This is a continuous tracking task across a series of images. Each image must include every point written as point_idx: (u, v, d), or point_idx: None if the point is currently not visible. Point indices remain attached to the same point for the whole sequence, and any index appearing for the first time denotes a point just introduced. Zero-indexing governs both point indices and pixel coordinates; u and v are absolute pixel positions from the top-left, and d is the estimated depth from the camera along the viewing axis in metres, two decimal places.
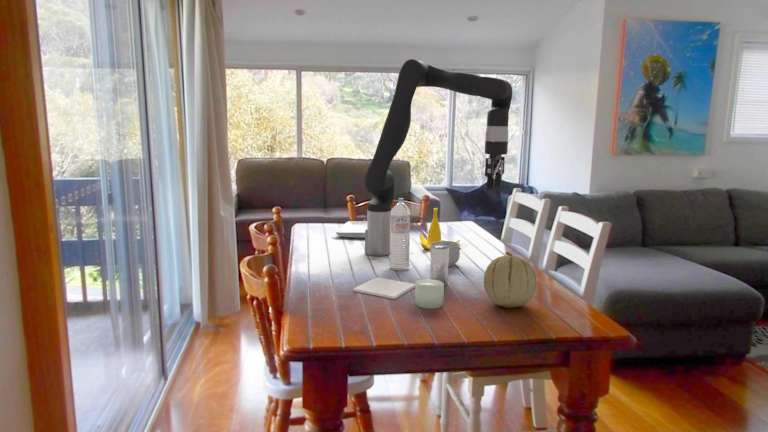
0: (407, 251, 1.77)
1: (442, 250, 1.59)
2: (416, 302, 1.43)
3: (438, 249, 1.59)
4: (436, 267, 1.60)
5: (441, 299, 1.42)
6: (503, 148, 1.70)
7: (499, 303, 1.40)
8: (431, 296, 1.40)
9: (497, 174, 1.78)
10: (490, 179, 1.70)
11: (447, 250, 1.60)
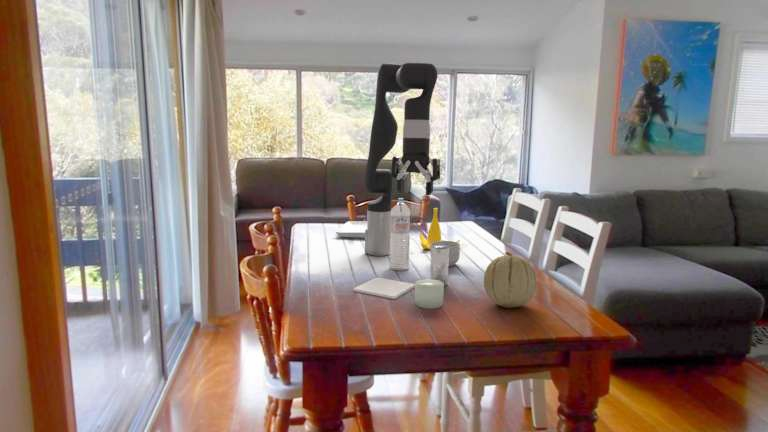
0: (407, 251, 1.77)
1: (442, 250, 1.59)
2: (416, 302, 1.43)
3: (438, 249, 1.59)
4: (436, 267, 1.60)
5: (441, 299, 1.42)
6: None
7: (499, 303, 1.40)
8: (431, 296, 1.40)
9: (401, 178, 1.47)
10: (432, 183, 1.43)
11: (447, 250, 1.60)
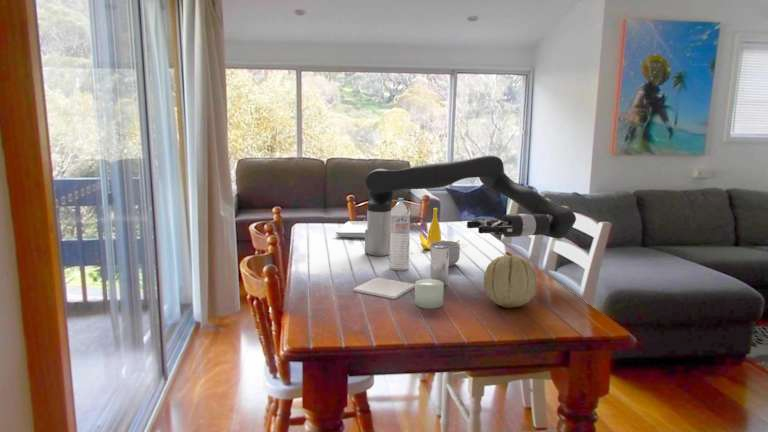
0: (407, 251, 1.77)
1: (442, 250, 1.59)
2: (416, 302, 1.43)
3: (438, 249, 1.59)
4: (436, 267, 1.60)
5: (441, 299, 1.42)
6: (513, 236, 1.66)
7: (499, 303, 1.40)
8: (431, 296, 1.40)
9: (479, 223, 1.69)
10: (489, 230, 1.59)
11: (447, 250, 1.60)
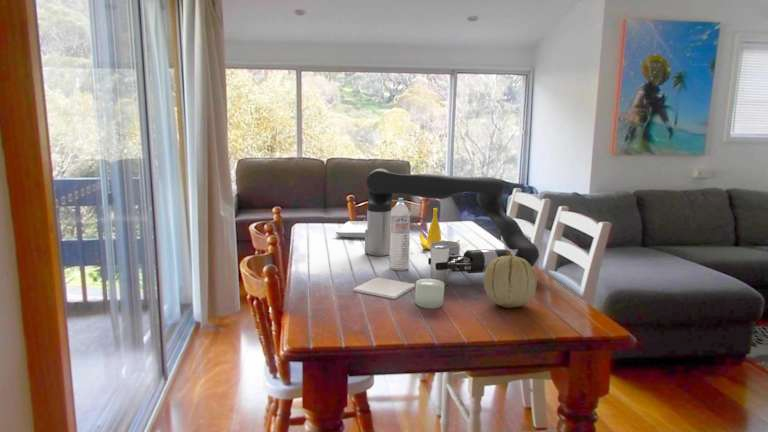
0: (407, 251, 1.77)
1: (442, 250, 1.59)
2: (417, 302, 1.43)
3: (438, 249, 1.59)
4: None
5: (442, 298, 1.43)
6: (475, 272, 1.64)
7: (499, 303, 1.40)
8: (434, 296, 1.40)
9: None
10: (446, 267, 1.59)
11: (447, 250, 1.60)
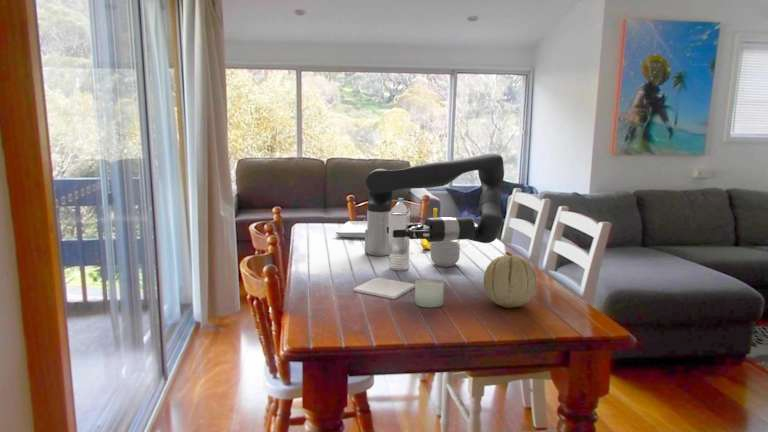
0: (407, 251, 1.77)
1: (400, 216, 1.52)
2: (419, 302, 1.42)
3: (395, 215, 1.52)
4: None
5: (442, 297, 1.44)
6: (436, 240, 1.57)
7: (499, 303, 1.40)
8: (435, 295, 1.41)
9: None
10: (404, 234, 1.52)
11: (405, 217, 1.53)
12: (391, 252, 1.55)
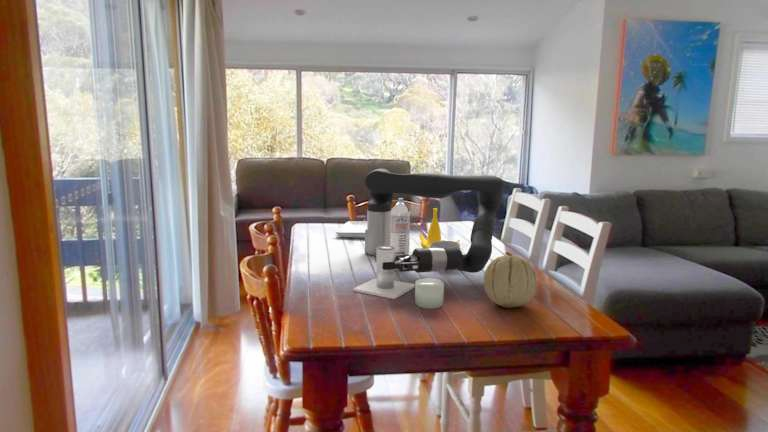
0: (407, 251, 1.77)
1: (387, 251, 1.53)
2: (421, 304, 1.42)
3: (383, 250, 1.53)
4: (381, 269, 1.54)
5: None
6: (423, 271, 1.58)
7: (499, 303, 1.40)
8: (438, 296, 1.41)
9: None
10: (394, 267, 1.52)
11: (392, 251, 1.54)
12: (379, 286, 1.55)
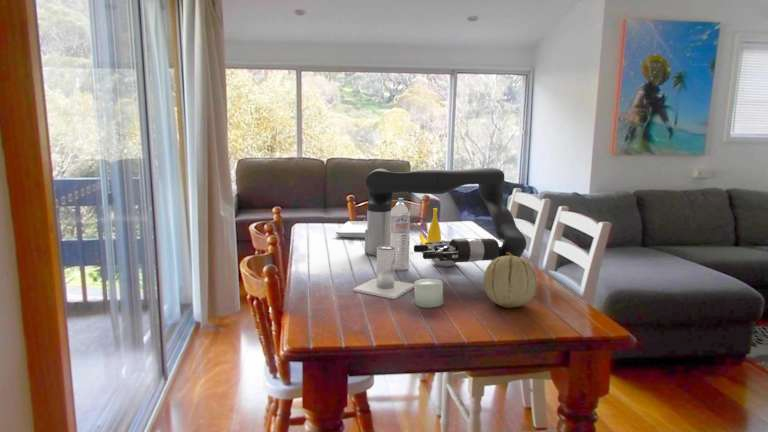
0: (407, 251, 1.77)
1: (387, 251, 1.53)
2: (424, 304, 1.41)
3: (383, 250, 1.53)
4: (381, 269, 1.54)
5: None
6: (461, 261, 1.61)
7: (499, 303, 1.40)
8: (440, 293, 1.42)
9: (426, 247, 1.64)
10: (434, 256, 1.54)
11: (393, 251, 1.54)
12: (379, 286, 1.55)
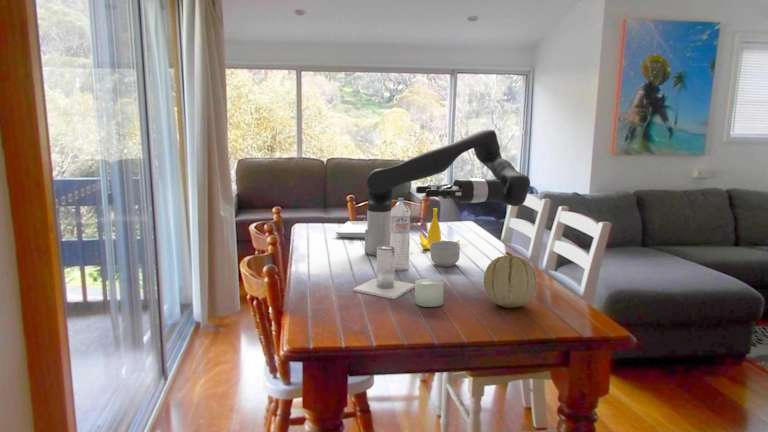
0: (407, 251, 1.77)
1: (387, 251, 1.53)
2: (427, 303, 1.41)
3: (383, 250, 1.53)
4: (381, 269, 1.54)
5: None
6: (464, 201, 1.57)
7: (499, 303, 1.40)
8: (442, 292, 1.43)
9: (429, 188, 1.60)
10: (437, 194, 1.51)
11: (393, 251, 1.54)
12: (379, 286, 1.55)
